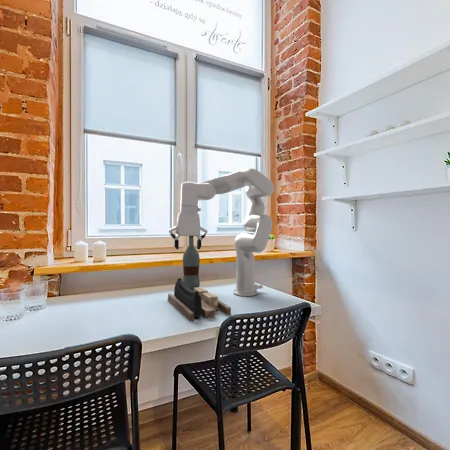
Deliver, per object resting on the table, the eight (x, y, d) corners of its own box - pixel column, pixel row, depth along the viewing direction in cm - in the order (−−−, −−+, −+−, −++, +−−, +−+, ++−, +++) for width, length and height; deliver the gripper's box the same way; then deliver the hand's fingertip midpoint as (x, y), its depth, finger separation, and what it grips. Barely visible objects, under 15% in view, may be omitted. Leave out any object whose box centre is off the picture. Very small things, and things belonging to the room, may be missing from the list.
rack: (201, 295, 151) (201, 290, 151) (230, 314, 122) (230, 307, 122) (168, 300, 143) (168, 293, 143) (190, 321, 115) (190, 313, 115)
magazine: (204, 297, 115) (183, 264, 141) (197, 298, 114) (176, 264, 139) (200, 335, 120) (179, 296, 146) (192, 336, 119) (173, 297, 144)
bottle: (192, 288, 168) (192, 234, 167) (203, 290, 161) (203, 235, 161) (178, 290, 161) (178, 235, 160) (189, 294, 155) (189, 236, 154)
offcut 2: (210, 305, 136) (210, 292, 136) (217, 310, 129) (217, 296, 128) (202, 306, 134) (202, 293, 134) (209, 311, 127) (209, 297, 127)
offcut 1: (201, 299, 146) (201, 287, 145) (207, 303, 138) (207, 290, 138) (193, 300, 144) (193, 287, 144) (199, 304, 137) (199, 291, 136)
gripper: (205, 211, 138) (204, 248, 138) (168, 209, 132) (166, 248, 132) (210, 210, 131) (209, 249, 131) (170, 209, 125) (169, 249, 125)
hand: (187, 249), depth 132 cm, fingers open, 9 cm apart
